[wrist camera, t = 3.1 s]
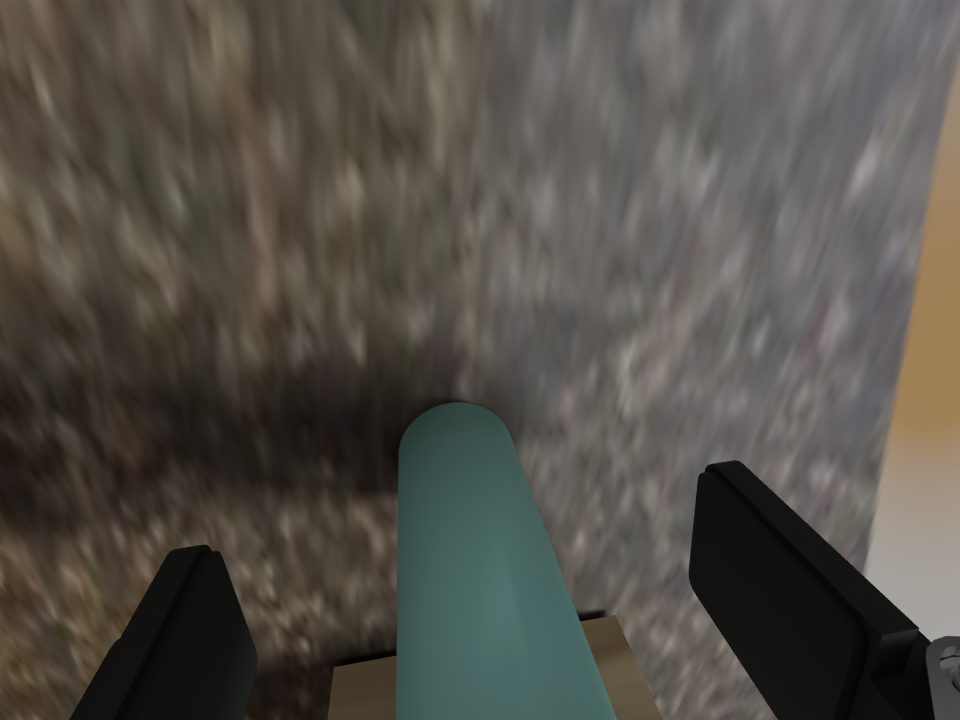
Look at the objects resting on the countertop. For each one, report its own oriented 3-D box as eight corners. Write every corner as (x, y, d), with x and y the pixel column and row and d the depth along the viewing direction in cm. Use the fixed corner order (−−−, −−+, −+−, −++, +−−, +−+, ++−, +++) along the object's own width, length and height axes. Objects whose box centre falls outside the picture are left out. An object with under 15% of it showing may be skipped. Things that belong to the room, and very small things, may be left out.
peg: (390, 411, 13) (364, 1056, 4) (508, 394, 13) (749, 956, 4) (406, 508, 14) (418, 1178, 5) (514, 490, 14) (713, 1094, 5)
